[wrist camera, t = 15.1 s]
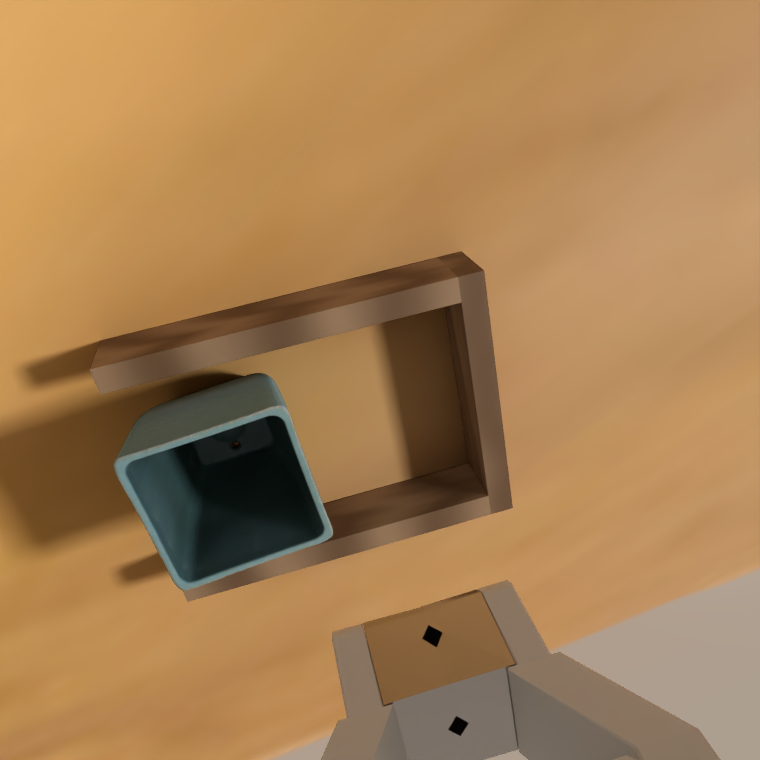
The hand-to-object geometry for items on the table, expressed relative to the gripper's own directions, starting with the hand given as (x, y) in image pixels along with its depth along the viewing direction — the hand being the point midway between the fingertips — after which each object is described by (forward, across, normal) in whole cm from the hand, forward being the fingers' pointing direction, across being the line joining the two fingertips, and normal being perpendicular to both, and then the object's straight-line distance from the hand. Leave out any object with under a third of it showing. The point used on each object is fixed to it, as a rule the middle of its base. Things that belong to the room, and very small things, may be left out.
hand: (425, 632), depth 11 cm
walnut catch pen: (+31, -1, -13) cm, 34 cm away
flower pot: (+31, -6, -11) cm, 34 cm away
